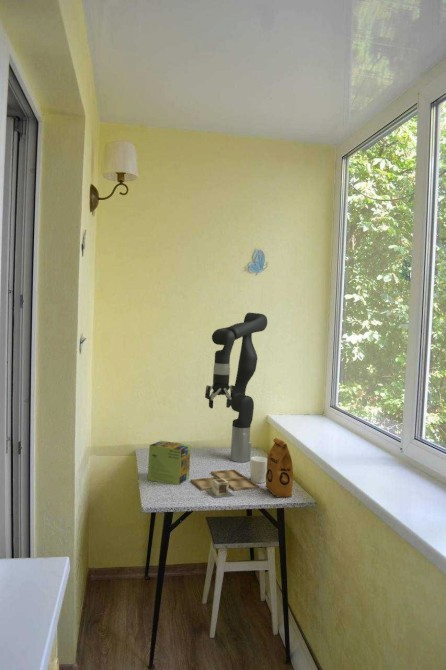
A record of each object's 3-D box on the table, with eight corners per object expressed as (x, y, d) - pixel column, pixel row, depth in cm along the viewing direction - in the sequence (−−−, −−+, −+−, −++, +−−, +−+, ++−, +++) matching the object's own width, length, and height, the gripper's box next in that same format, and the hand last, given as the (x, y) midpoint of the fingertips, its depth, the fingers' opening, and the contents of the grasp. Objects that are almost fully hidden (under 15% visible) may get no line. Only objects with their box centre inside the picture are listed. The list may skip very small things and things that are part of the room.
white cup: (268, 479, 232) (270, 457, 232) (264, 484, 225) (265, 462, 225) (252, 477, 235) (253, 455, 235) (247, 482, 228) (248, 459, 227)
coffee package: (272, 498, 209) (275, 444, 208) (262, 488, 221) (265, 437, 220) (295, 497, 211) (298, 444, 210) (284, 487, 223) (287, 437, 222)
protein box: (179, 486, 217) (181, 450, 216) (147, 480, 222) (148, 444, 222) (189, 479, 227) (191, 444, 226) (158, 474, 232) (160, 439, 232)
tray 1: (215, 480, 228) (216, 477, 228) (227, 489, 217) (227, 485, 217) (190, 482, 223) (190, 479, 223) (201, 491, 212) (201, 488, 212)
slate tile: (225, 489, 216) (225, 488, 216) (234, 497, 208) (234, 495, 208) (205, 491, 212) (205, 490, 212) (214, 499, 204) (214, 498, 204)
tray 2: (234, 472, 241) (234, 469, 240) (246, 480, 230) (246, 477, 230) (210, 474, 235) (210, 471, 235) (221, 482, 225) (222, 479, 225)
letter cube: (222, 490, 213) (223, 478, 213) (228, 494, 209) (228, 482, 208) (211, 491, 211) (212, 479, 211) (216, 495, 206) (217, 483, 206)
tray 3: (246, 480, 230) (246, 477, 230) (259, 489, 219) (259, 486, 219) (221, 482, 225) (222, 479, 225) (234, 492, 214) (234, 488, 214)
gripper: (231, 372, 244) (229, 405, 245) (204, 372, 238) (202, 406, 239) (238, 374, 238) (236, 408, 238) (210, 374, 232) (208, 409, 232)
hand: (219, 407), depth 239 cm, fingers open, 8 cm apart
